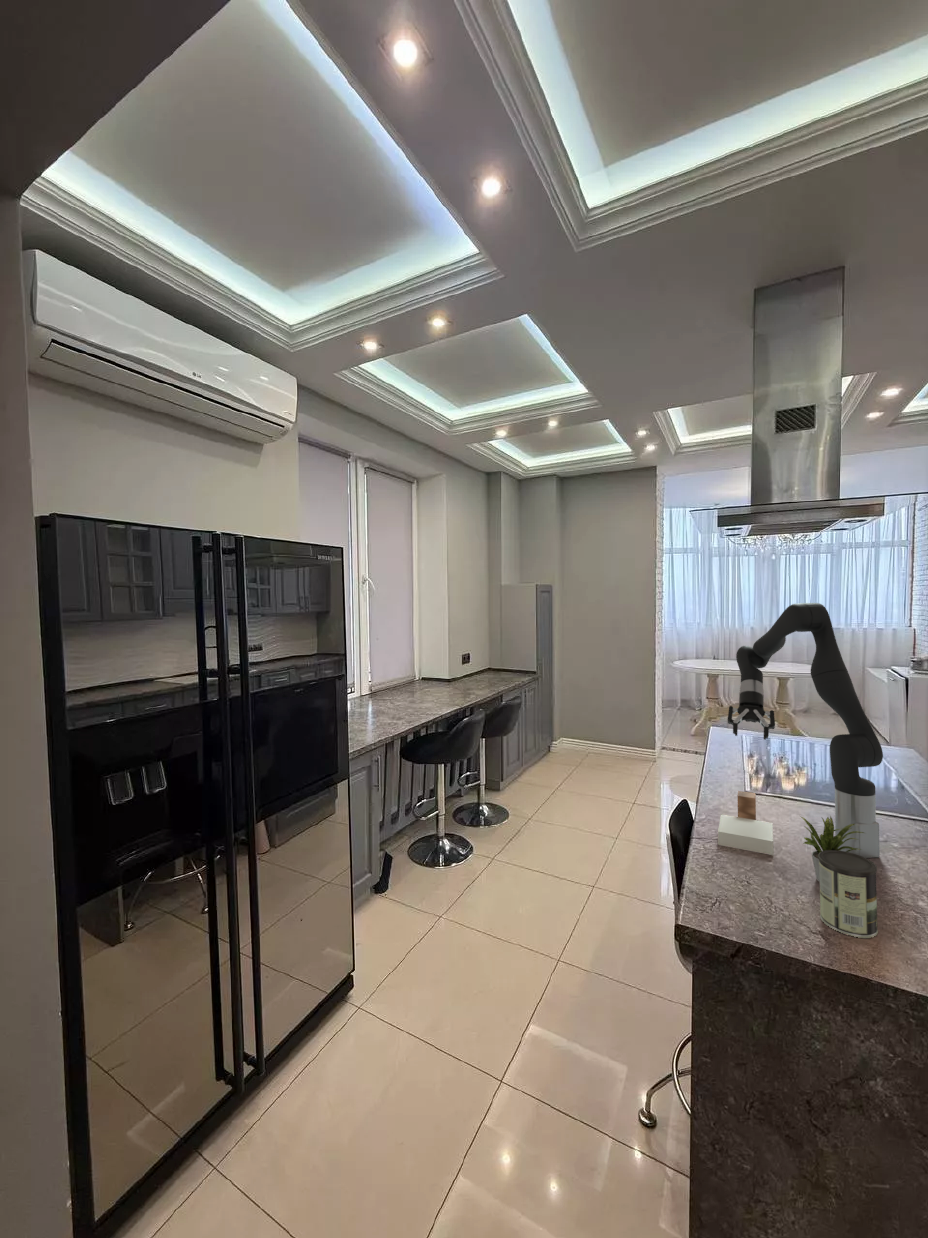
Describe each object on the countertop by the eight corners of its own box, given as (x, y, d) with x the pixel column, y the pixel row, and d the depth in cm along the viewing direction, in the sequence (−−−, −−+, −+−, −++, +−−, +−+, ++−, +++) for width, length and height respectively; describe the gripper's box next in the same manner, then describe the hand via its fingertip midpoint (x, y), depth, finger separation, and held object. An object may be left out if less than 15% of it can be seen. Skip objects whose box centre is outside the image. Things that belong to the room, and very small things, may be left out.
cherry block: (756, 822, 164) (755, 793, 164) (755, 828, 160) (755, 798, 160) (738, 819, 167) (738, 790, 167) (738, 825, 163) (737, 795, 163)
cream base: (772, 835, 154) (772, 822, 154) (773, 855, 142) (773, 841, 142) (721, 827, 161) (721, 814, 161) (718, 844, 149) (717, 831, 149)
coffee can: (853, 909, 116) (852, 849, 116) (890, 938, 106) (889, 872, 106) (808, 910, 116) (807, 849, 116) (840, 939, 106) (839, 873, 106)
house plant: (882, 902, 119) (881, 833, 118) (816, 897, 121) (815, 830, 121) (849, 871, 133) (848, 810, 132) (791, 867, 135) (790, 807, 135)
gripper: (729, 688, 181) (726, 729, 173) (775, 692, 174) (775, 734, 166) (728, 698, 187) (726, 738, 178) (774, 702, 180) (774, 744, 171)
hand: (750, 736), depth 172 cm, fingers open, 8 cm apart
